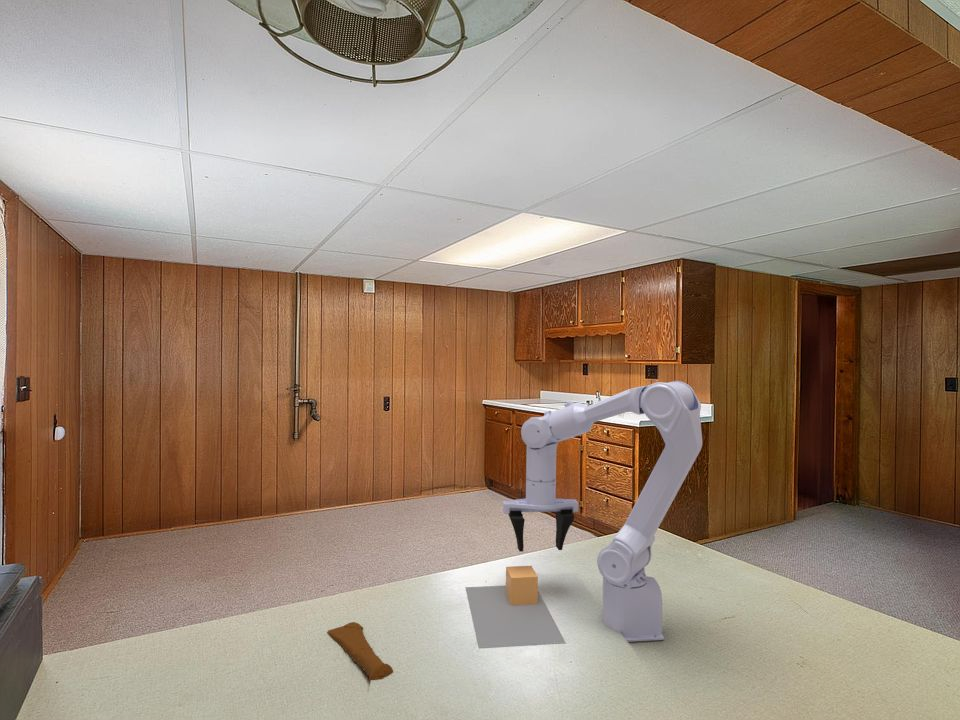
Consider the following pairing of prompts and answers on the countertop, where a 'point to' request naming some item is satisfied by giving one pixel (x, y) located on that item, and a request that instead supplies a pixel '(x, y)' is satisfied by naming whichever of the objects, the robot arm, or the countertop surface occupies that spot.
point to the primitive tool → (360, 650)
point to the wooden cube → (521, 585)
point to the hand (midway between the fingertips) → (539, 549)
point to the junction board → (510, 620)
